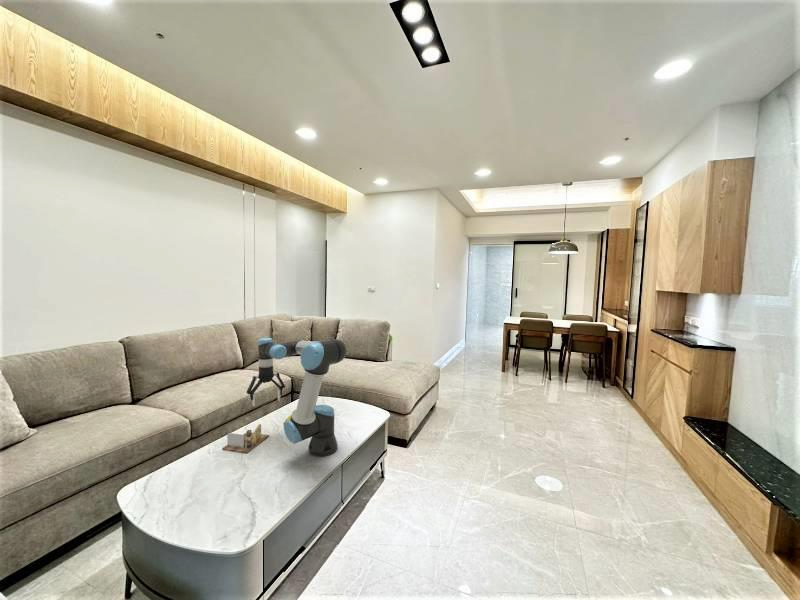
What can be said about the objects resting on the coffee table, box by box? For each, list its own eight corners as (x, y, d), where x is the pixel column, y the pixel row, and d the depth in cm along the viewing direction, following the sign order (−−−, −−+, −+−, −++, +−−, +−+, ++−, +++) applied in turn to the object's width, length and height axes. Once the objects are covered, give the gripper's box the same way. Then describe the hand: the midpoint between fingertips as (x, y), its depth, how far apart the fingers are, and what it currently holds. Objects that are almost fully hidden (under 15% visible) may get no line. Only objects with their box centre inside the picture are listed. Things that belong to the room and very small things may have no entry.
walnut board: (269, 436, 188) (269, 435, 188) (246, 453, 169) (246, 451, 169) (246, 433, 191) (246, 432, 191) (222, 450, 173) (222, 448, 173)
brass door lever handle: (254, 446, 174) (254, 434, 173) (246, 447, 173) (245, 434, 173) (261, 435, 186) (261, 424, 186) (253, 436, 185) (253, 424, 185)
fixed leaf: (252, 445, 176) (252, 430, 175) (247, 449, 172) (247, 433, 171) (233, 442, 178) (232, 427, 178) (227, 446, 174) (227, 430, 174)
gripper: (286, 361, 193) (287, 396, 194) (240, 367, 179) (241, 405, 180) (290, 364, 187) (291, 400, 188) (242, 370, 173) (243, 410, 174)
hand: (266, 403), depth 184 cm, fingers open, 13 cm apart
